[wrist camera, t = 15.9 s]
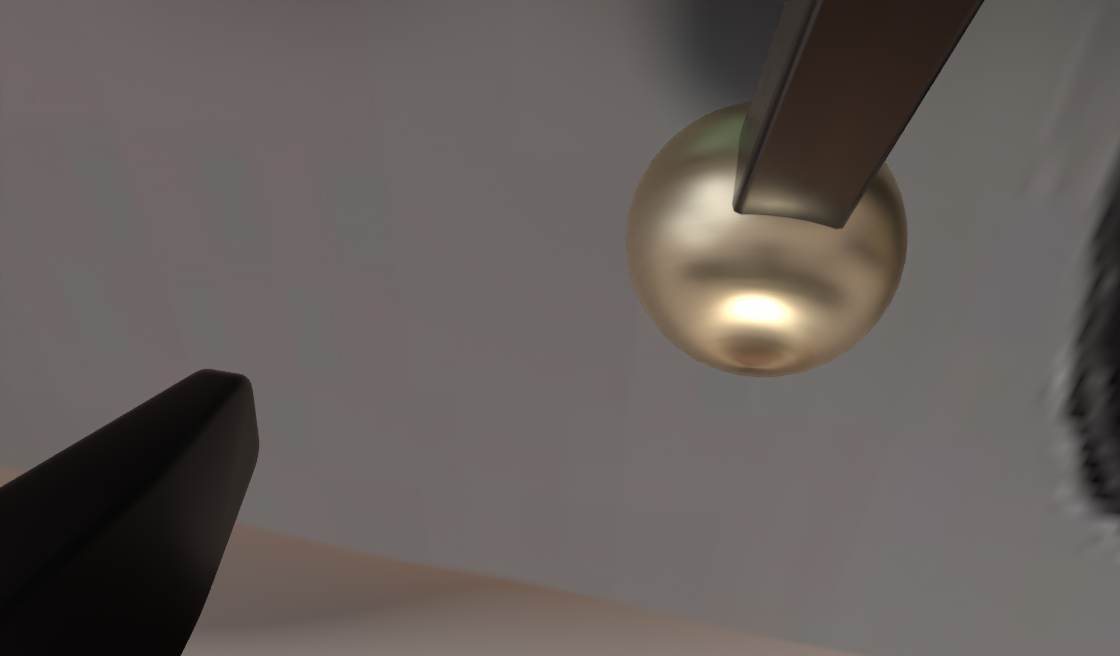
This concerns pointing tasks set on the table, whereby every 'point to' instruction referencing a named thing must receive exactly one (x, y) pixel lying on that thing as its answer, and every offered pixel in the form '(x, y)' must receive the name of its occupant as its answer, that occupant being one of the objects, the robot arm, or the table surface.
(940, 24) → the toaster lever
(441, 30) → the table surface
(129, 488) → the robot arm
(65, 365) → the table surface
